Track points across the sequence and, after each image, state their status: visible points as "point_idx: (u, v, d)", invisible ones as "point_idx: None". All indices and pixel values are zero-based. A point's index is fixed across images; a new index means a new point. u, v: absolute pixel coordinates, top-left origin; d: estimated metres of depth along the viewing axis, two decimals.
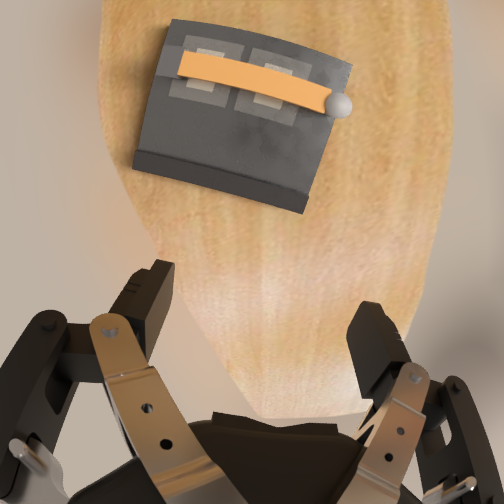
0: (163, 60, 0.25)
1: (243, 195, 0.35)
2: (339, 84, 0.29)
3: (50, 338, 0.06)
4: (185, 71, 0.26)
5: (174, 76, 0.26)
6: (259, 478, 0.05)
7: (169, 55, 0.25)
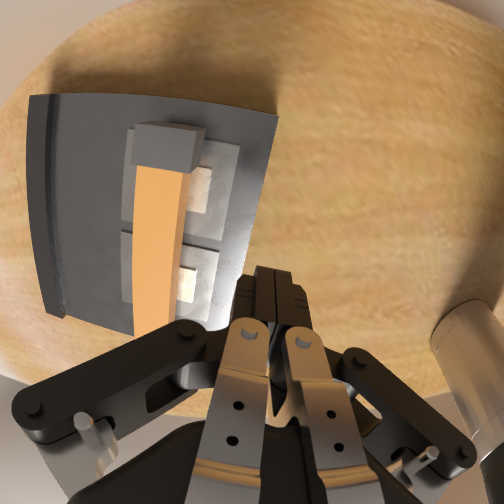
0: (163, 135, 0.15)
1: (34, 252, 0.22)
2: None
3: (194, 349, 0.08)
4: (143, 179, 0.16)
5: (133, 161, 0.15)
6: None
7: (173, 145, 0.15)
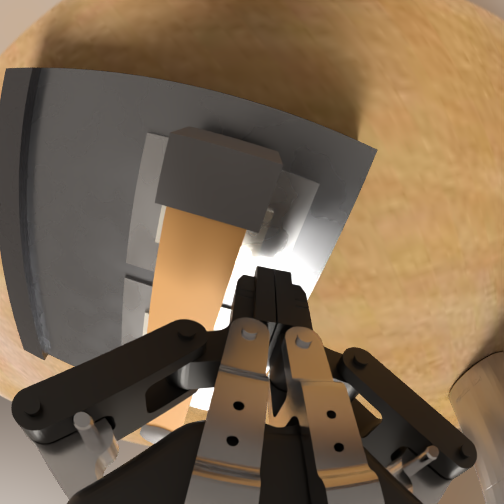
0: (221, 162, 0.09)
1: (7, 283, 0.16)
2: (204, 405, 0.21)
3: (195, 349, 0.08)
4: (175, 229, 0.10)
5: (159, 198, 0.09)
6: (259, 478, 0.05)
7: (237, 181, 0.09)
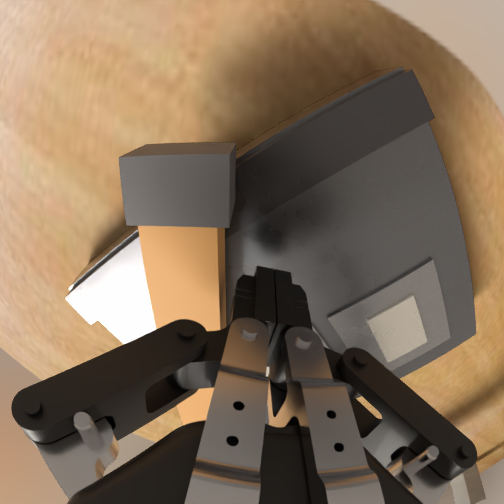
0: (171, 170, 0.09)
1: None
2: None
3: (195, 349, 0.08)
4: (153, 245, 0.10)
5: (129, 220, 0.10)
6: None
7: (192, 183, 0.09)
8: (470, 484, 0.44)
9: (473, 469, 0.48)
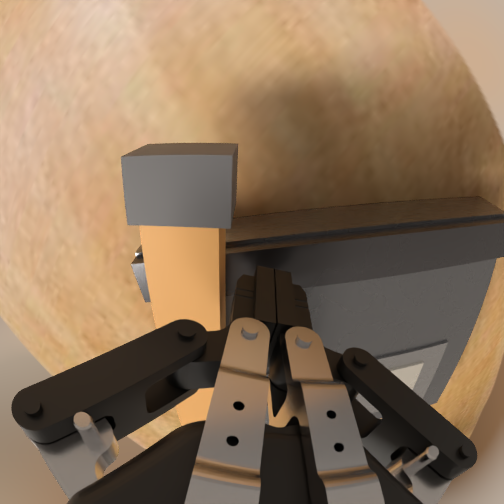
0: (173, 170, 0.09)
1: (283, 251, 0.14)
2: None
3: (195, 349, 0.08)
4: (154, 245, 0.10)
5: (130, 219, 0.10)
6: None
7: (194, 184, 0.09)
8: None
9: None
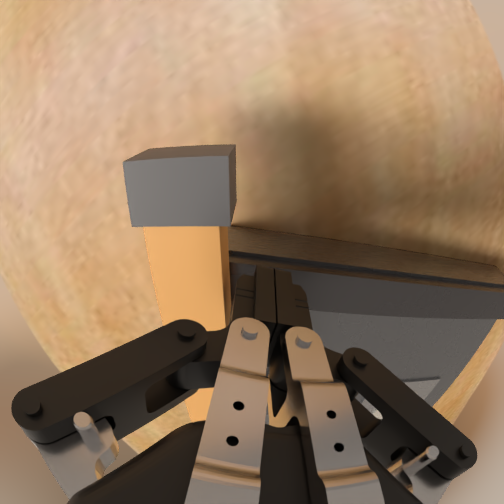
0: (173, 172, 0.09)
1: (364, 281, 0.15)
2: None
3: (194, 349, 0.08)
4: (158, 245, 0.11)
5: (134, 221, 0.10)
6: (259, 478, 0.05)
7: (193, 185, 0.09)
8: None
9: None
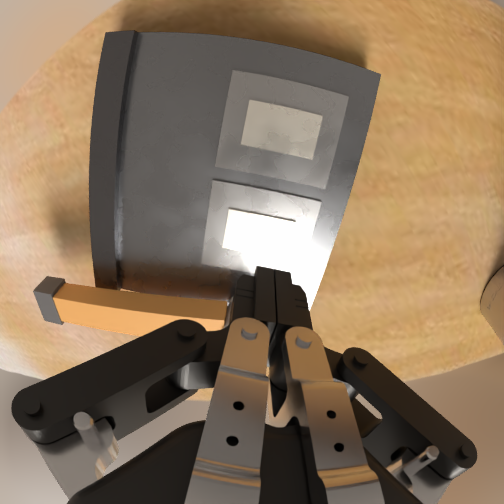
0: (42, 307, 0.23)
1: (91, 212, 0.21)
2: None
3: (194, 349, 0.08)
4: (66, 318, 0.23)
5: (60, 323, 0.23)
6: None
7: (43, 302, 0.22)
8: None
9: None
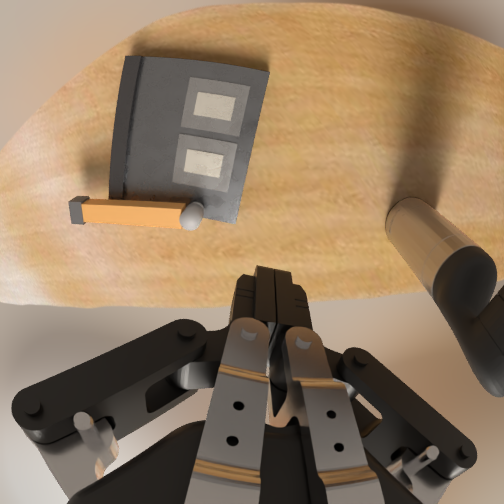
0: (72, 212, 0.39)
1: (112, 153, 0.38)
2: (215, 215, 0.43)
3: (195, 349, 0.08)
4: (87, 219, 0.39)
5: (82, 223, 0.39)
6: (259, 478, 0.05)
7: (74, 209, 0.38)
8: None
9: None
